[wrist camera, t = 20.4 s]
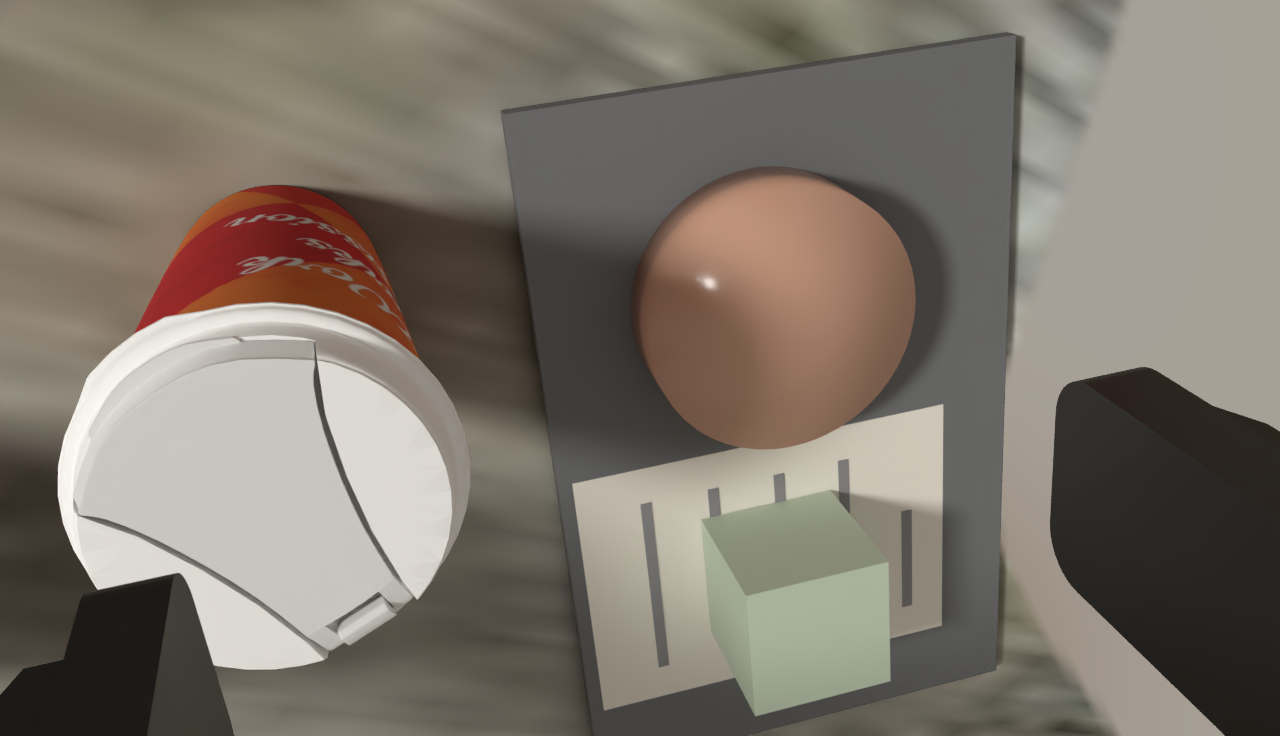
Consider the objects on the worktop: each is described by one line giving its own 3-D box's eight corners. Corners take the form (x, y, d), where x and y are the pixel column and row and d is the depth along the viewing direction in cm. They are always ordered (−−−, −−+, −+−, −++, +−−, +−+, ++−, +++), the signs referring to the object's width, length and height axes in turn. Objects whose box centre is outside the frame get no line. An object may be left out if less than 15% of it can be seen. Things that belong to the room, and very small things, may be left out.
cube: (700, 519, 44) (745, 596, 40) (830, 490, 45) (888, 561, 41) (711, 631, 46) (755, 716, 42) (834, 601, 47) (890, 681, 43)
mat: (596, 763, 48) (600, 775, 48) (500, 110, 37) (504, 114, 37) (988, 661, 51) (997, 670, 51) (1006, 32, 40) (1016, 34, 40)
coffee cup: (466, 308, 39) (553, 548, 26) (252, 446, 39) (230, 757, 26) (308, 87, 36) (315, 238, 22) (71, 241, 36) (-63, 483, 22)
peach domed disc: (642, 439, 42) (661, 472, 40) (618, 188, 39) (637, 209, 36) (883, 392, 44) (914, 421, 42) (883, 147, 40) (917, 165, 38)
